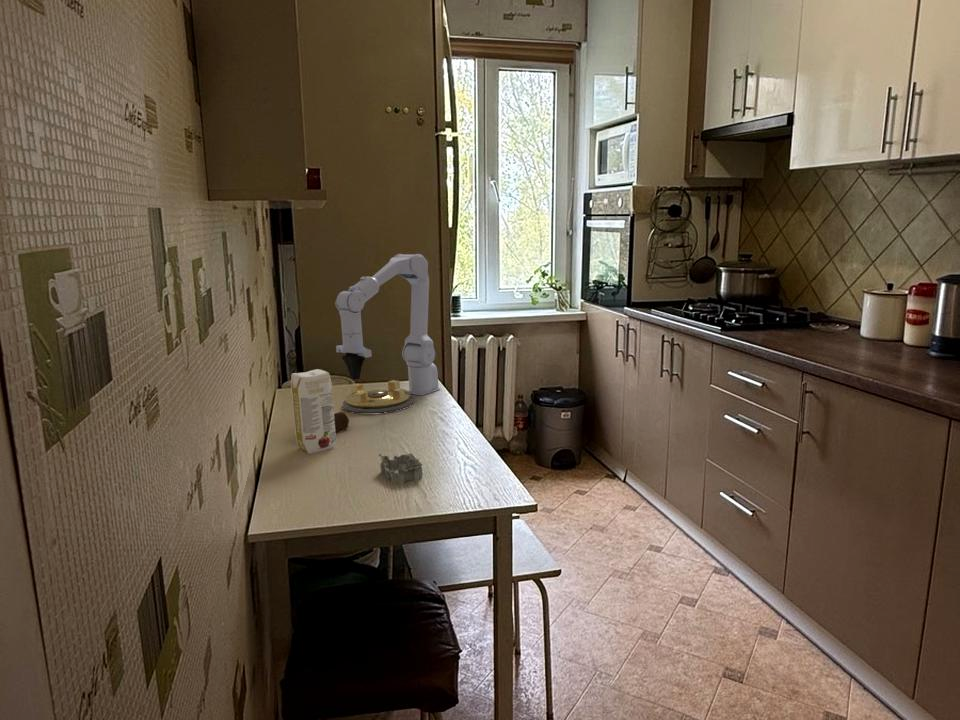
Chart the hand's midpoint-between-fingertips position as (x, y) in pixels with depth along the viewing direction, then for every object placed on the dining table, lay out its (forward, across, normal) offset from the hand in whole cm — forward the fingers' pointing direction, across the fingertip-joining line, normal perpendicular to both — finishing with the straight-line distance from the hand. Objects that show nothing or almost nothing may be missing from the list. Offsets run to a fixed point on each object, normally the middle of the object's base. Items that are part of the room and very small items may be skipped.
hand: (355, 378), depth 195 cm
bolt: (+10, +6, -16) cm, 19 cm away
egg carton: (+10, +51, -25) cm, 57 cm away
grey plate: (+9, 0, +7) cm, 12 cm away
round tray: (+8, 0, +7) cm, 11 cm away
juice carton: (+10, +21, -27) cm, 36 cm away
